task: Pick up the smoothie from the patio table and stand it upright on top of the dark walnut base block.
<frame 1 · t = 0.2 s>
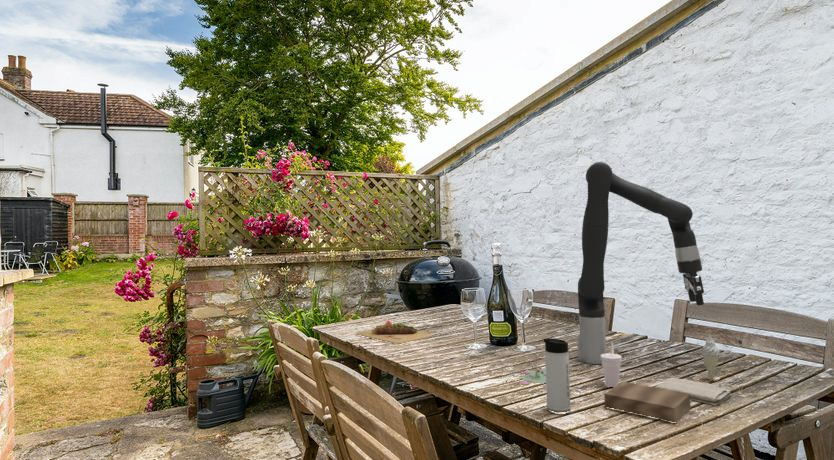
hand: (696, 303, 174), 22 cm above the table, tool pointing down, fingers open, 8 cm apart
plant: (531, 384, 160), on the table
washcloth: (691, 396, 144), on the table
travel mug: (558, 411, 134), on the table
walnut base: (647, 408, 134), on the table
ice cream cone: (711, 380, 157), on the table
smoothie: (612, 386, 154), on the table
cutting board: (393, 337, 241), on the table
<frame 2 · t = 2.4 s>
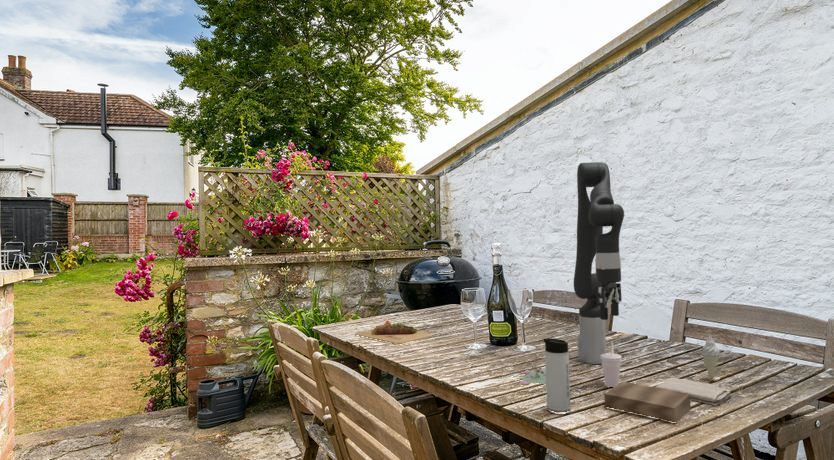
hand: (609, 317, 154), 22 cm above the table, tool pointing down, fingers open, 8 cm apart
nothing on the table moved.
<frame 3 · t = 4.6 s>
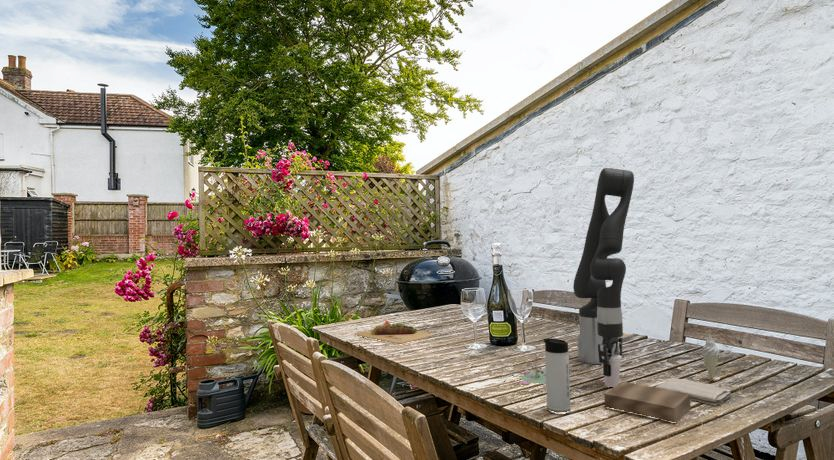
hand: (611, 373, 154), 4 cm above the table, tool pointing down, fingers closed on smoothie, 6 cm apart
smoothie: (612, 386, 154), on the table, touching gripper
everything else where it was.
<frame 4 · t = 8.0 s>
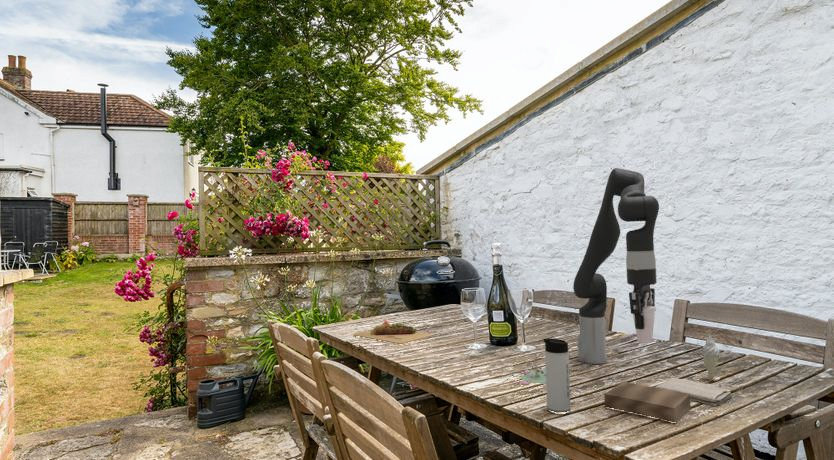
hand: (643, 327, 135), 22 cm above the table, tool pointing down, fingers closed on smoothie, 6 cm apart
smoothie: (644, 342, 135), point 18 cm above the table, touching gripper
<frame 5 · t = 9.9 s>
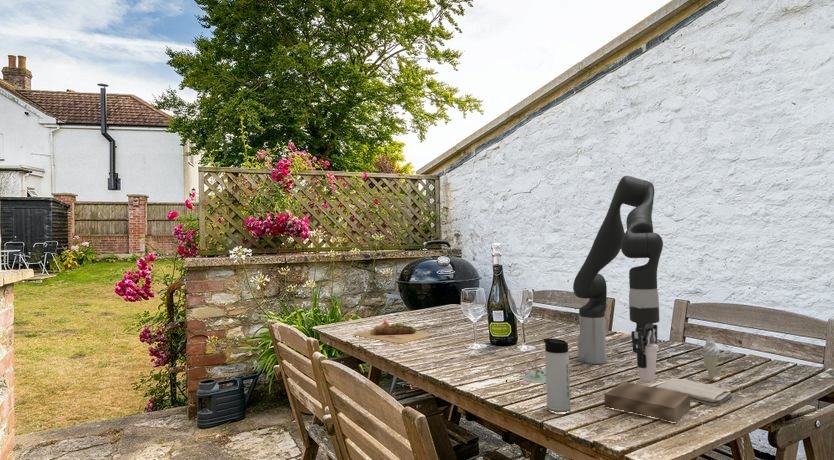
hand: (646, 364, 134), 12 cm above the table, tool pointing down, fingers closed on smoothie, 6 cm apart
smoothie: (646, 380, 134), point 8 cm above the table, touching gripper
when the fingers open (9 cm above the table, at t = 11.4 s): smoothie drops 1 cm, resting on walnut base.
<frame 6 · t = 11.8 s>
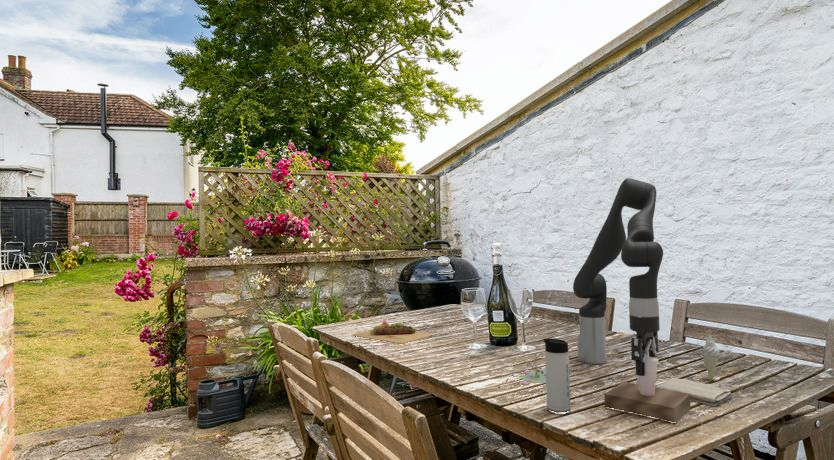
hand: (646, 371, 134), 10 cm above the table, tool pointing down, fingers open, 8 cm apart
smoothie: (647, 394, 134), point 4 cm above the table, touching walnut base
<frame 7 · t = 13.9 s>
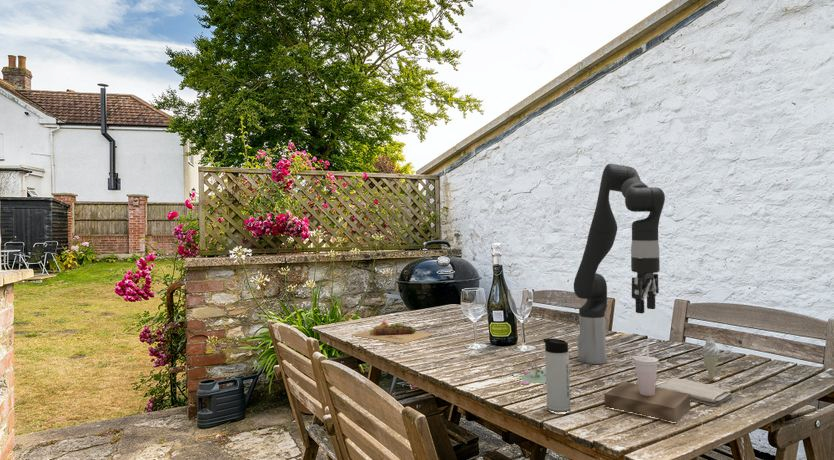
hand: (645, 310, 141), 26 cm above the table, tool pointing down, fingers open, 8 cm apart
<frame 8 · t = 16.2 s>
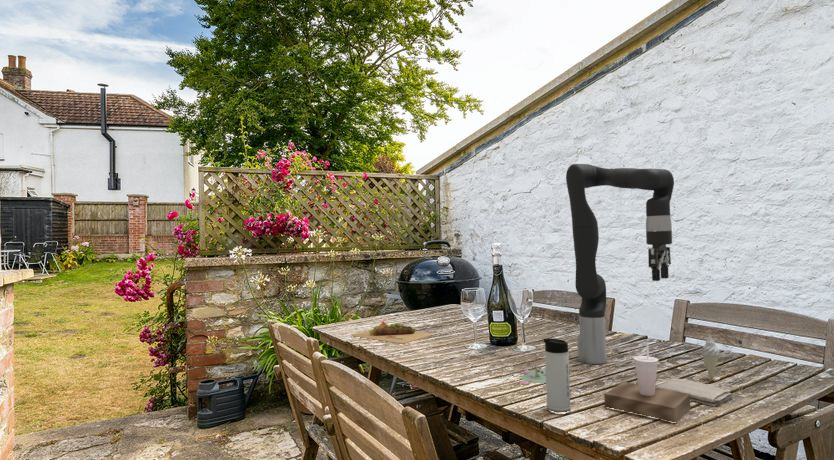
hand: (660, 279, 157), 33 cm above the table, tool pointing down, fingers open, 8 cm apart
at the end: smoothie inside the target area on the walnut base (0.2 cm from its centre), point 3.8 cm above the walnut base's base; smoothie tilted 0°; the gripper is holding nothing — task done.
